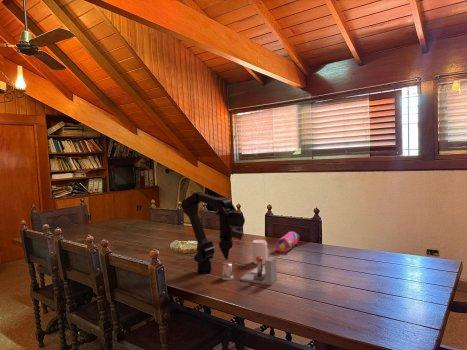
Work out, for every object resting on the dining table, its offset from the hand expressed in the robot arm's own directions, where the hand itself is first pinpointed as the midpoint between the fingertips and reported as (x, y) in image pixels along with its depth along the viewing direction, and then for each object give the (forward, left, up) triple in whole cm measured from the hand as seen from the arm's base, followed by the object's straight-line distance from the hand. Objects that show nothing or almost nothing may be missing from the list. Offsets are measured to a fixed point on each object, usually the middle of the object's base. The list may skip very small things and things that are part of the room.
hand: (226, 256), depth 160 cm
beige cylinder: (+18, +20, -11) cm, 29 cm away
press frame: (+17, -1, -11) cm, 20 cm away
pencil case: (+38, +44, -11) cm, 60 cm away
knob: (0, 0, -11) cm, 11 cm away
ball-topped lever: (+16, -6, -9) cm, 19 cm away
